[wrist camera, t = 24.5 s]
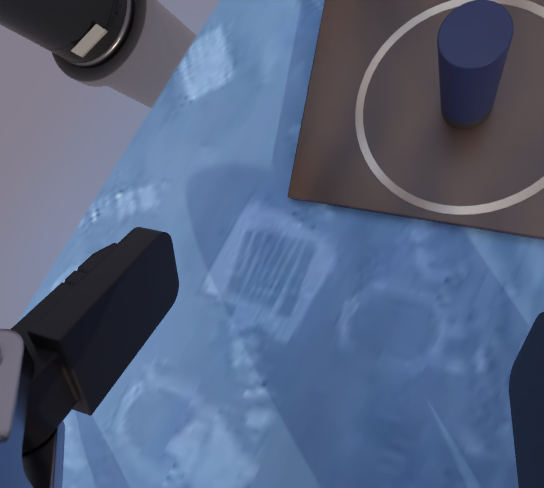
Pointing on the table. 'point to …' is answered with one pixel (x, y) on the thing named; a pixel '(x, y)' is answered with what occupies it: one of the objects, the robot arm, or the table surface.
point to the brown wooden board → (420, 121)
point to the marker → (472, 60)
